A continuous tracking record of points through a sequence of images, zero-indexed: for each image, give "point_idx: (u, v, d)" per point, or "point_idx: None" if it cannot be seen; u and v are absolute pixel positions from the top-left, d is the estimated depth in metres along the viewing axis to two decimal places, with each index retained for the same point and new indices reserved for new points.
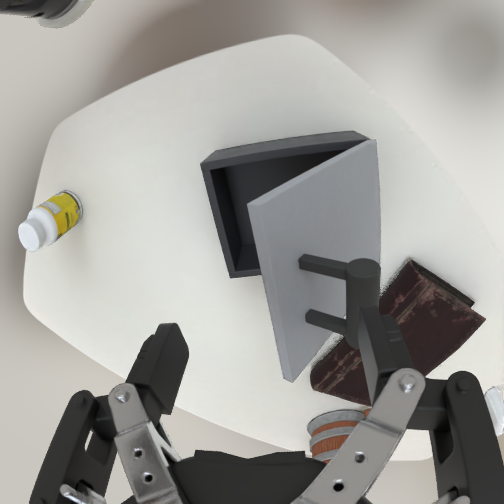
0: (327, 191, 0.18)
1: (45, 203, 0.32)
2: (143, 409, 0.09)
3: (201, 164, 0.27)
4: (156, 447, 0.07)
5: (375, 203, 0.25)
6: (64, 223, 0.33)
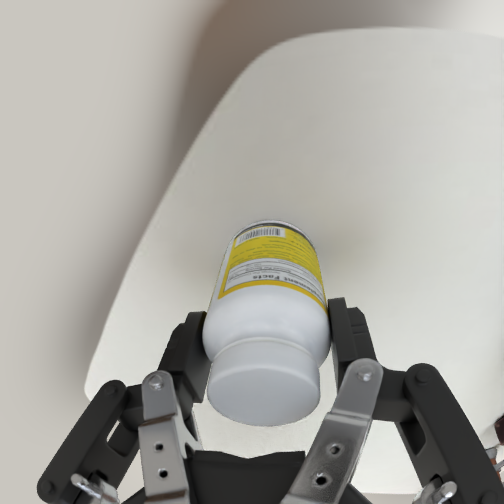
0: None
1: (278, 268, 0.12)
2: (175, 401, 0.09)
3: None
4: (179, 444, 0.07)
5: None
6: None
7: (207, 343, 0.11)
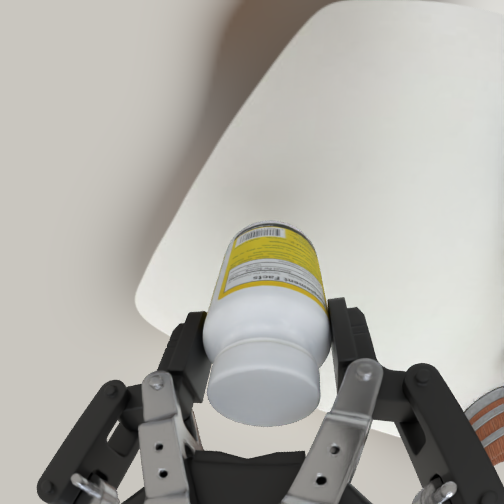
0: None
1: (278, 269, 0.12)
2: (175, 401, 0.09)
3: None
4: (179, 444, 0.07)
5: None
6: None
7: (207, 344, 0.12)
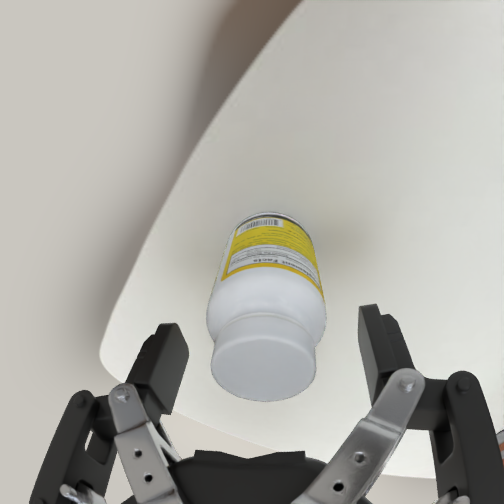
0: None
1: (276, 253, 0.13)
2: (143, 409, 0.09)
3: None
4: (156, 447, 0.07)
5: None
6: None
7: (211, 322, 0.13)
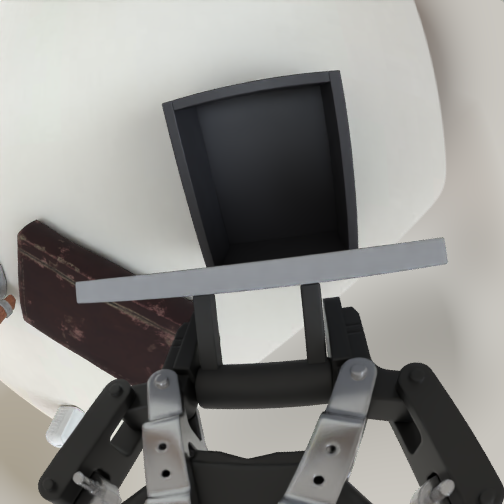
0: None
1: None
2: (180, 400, 0.09)
3: (339, 72, 0.17)
4: (182, 444, 0.07)
5: None
6: None
7: None
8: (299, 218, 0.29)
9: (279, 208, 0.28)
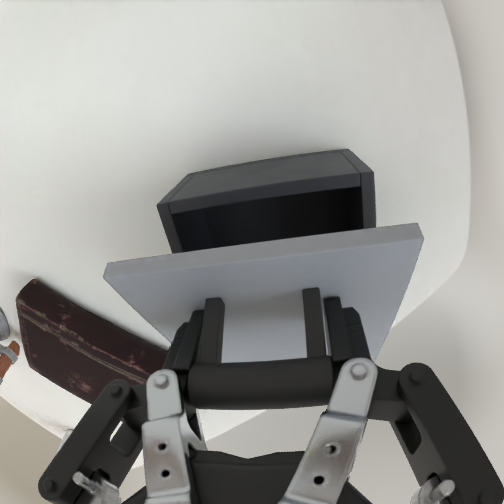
0: (369, 321, 0.14)
1: None
2: (180, 400, 0.09)
3: (372, 174, 0.15)
4: (182, 444, 0.07)
5: None
6: None
7: None
8: None
9: None
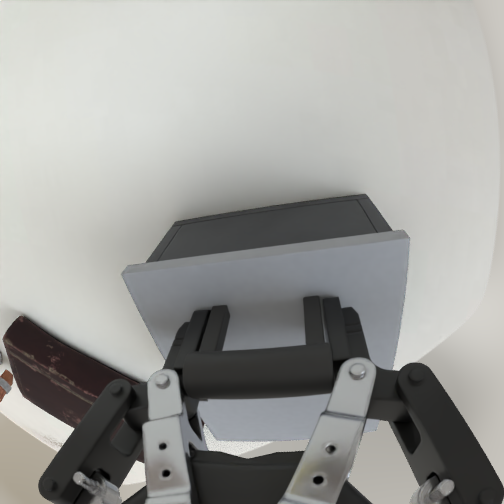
0: (370, 349, 0.14)
1: None
2: (181, 400, 0.09)
3: None
4: (183, 444, 0.07)
5: (304, 432, 0.19)
6: None
7: None
8: None
9: None
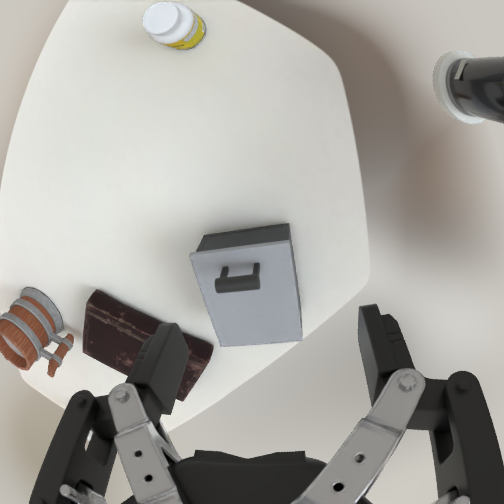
0: (284, 286, 0.39)
1: (196, 24, 0.26)
2: (143, 409, 0.09)
3: None
4: (156, 447, 0.07)
5: (264, 337, 0.43)
6: (172, 45, 0.28)
7: (171, 3, 0.23)
8: None
9: None
